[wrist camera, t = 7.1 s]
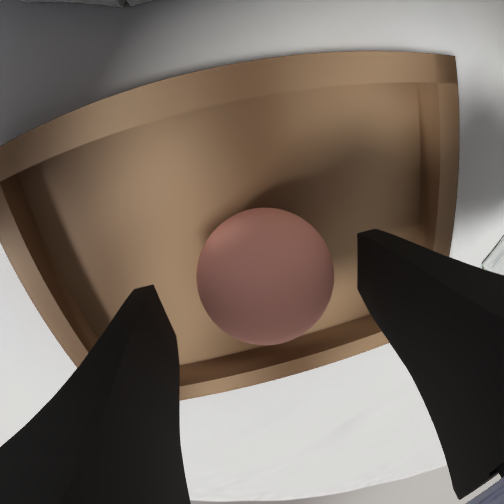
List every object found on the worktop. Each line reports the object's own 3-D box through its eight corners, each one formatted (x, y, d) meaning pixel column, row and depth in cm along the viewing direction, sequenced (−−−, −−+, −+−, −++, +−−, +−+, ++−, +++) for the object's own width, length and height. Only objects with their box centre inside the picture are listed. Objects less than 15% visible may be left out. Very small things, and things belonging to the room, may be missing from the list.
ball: (207, 307, 12) (231, 390, 9) (174, 210, 10) (185, 279, 6) (306, 274, 12) (358, 342, 9) (293, 176, 10) (360, 223, 7)
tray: (116, 375, 15) (111, 409, 13) (1, 148, 9) (-31, 164, 7) (412, 298, 16) (434, 324, 14) (417, 54, 9) (455, 56, 8)
